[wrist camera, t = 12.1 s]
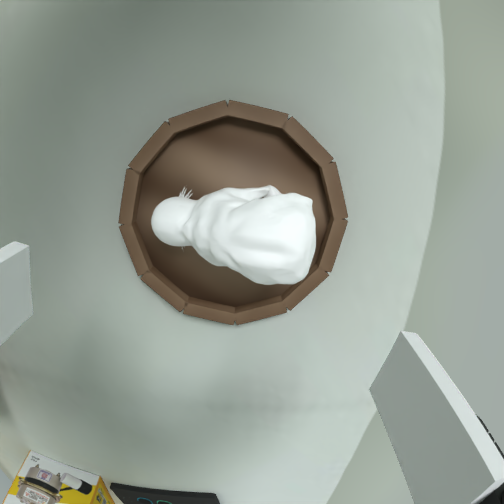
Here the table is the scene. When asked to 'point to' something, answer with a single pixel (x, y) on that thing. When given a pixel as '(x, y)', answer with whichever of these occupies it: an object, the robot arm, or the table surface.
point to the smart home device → (160, 496)
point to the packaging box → (55, 484)
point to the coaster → (216, 178)
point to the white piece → (244, 231)
